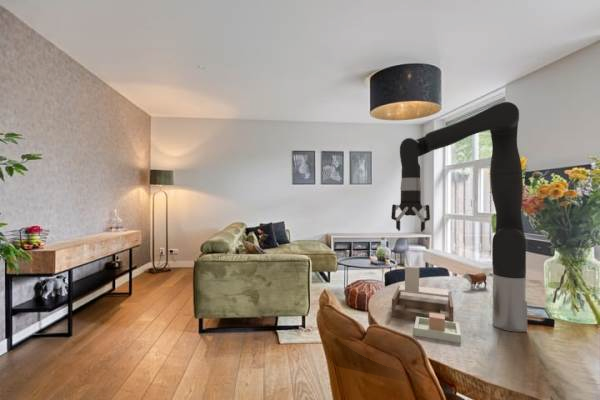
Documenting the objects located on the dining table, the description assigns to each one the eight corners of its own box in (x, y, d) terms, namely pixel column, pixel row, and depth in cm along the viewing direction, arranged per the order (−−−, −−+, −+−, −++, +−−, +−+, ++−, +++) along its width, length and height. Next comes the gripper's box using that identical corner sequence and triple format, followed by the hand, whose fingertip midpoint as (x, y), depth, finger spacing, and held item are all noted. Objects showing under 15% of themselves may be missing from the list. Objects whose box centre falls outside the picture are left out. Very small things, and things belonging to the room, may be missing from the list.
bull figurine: (460, 288, 156) (461, 271, 156) (482, 286, 160) (482, 270, 160) (468, 290, 152) (468, 273, 152) (489, 288, 156) (490, 271, 156)
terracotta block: (444, 328, 103) (444, 314, 103) (444, 333, 99) (444, 319, 99) (429, 326, 105) (429, 312, 105) (429, 331, 101) (429, 316, 101)
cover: (448, 291, 125) (448, 266, 125) (448, 297, 117) (448, 270, 117) (400, 286, 132) (401, 262, 132) (398, 291, 124) (398, 266, 124)
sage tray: (458, 329, 104) (458, 322, 104) (460, 343, 94) (460, 335, 94) (416, 323, 109) (416, 316, 109) (414, 335, 99) (414, 327, 99)
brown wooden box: (451, 308, 125) (451, 291, 125) (453, 326, 107) (453, 307, 107) (398, 301, 133) (398, 286, 133) (391, 317, 115) (391, 299, 115)
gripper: (430, 190, 126) (430, 231, 126) (393, 190, 132) (392, 229, 132) (430, 189, 119) (429, 232, 119) (390, 189, 125) (390, 231, 125)
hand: (410, 231), depth 126 cm, fingers open, 8 cm apart
